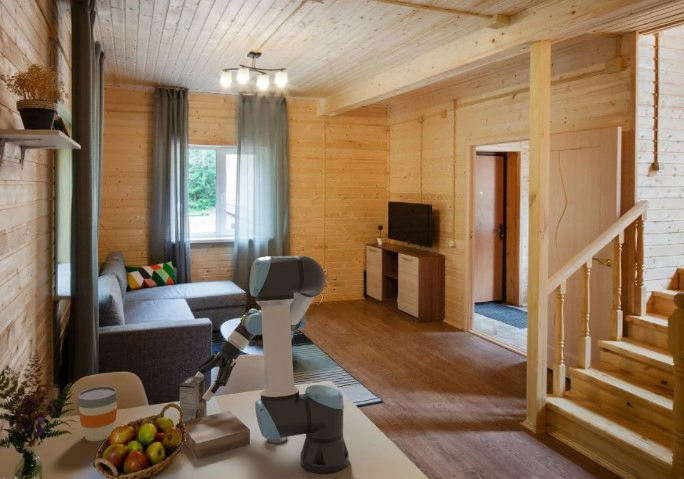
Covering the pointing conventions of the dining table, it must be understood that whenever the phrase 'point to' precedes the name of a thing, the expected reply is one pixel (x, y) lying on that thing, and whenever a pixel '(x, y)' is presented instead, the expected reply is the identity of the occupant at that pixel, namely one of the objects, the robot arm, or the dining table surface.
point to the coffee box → (193, 398)
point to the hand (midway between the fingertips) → (197, 393)
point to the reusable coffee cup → (97, 412)
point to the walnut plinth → (215, 434)
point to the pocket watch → (278, 440)
